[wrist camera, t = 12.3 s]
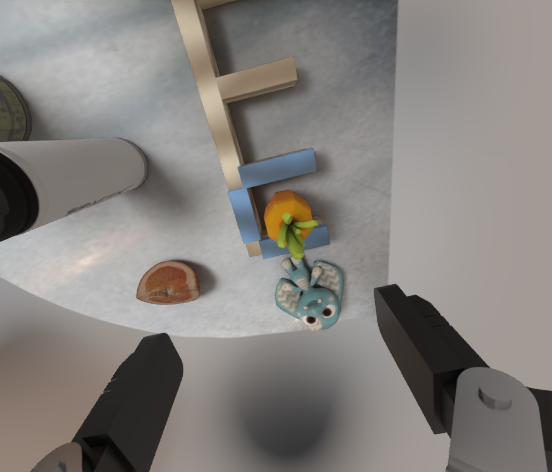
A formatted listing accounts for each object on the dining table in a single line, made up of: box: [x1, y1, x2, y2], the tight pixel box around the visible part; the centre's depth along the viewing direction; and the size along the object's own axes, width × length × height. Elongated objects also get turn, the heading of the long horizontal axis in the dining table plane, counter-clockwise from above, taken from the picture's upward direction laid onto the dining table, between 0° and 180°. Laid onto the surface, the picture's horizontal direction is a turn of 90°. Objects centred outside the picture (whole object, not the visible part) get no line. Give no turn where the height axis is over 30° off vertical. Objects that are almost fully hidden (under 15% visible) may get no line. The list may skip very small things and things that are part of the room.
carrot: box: [264, 190, 318, 259], centre depth 28 cm, size 5×5×15 cm
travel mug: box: [0, 138, 148, 242], centre depth 24 cm, size 6×7×20 cm
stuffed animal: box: [275, 256, 343, 331], centre depth 37 cm, size 11×7×12 cm
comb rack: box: [171, 0, 330, 259], centre depth 29 cm, size 29×10×5 cm, turn 13°
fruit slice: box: [136, 261, 200, 305], centre depth 37 cm, size 8×7×5 cm
